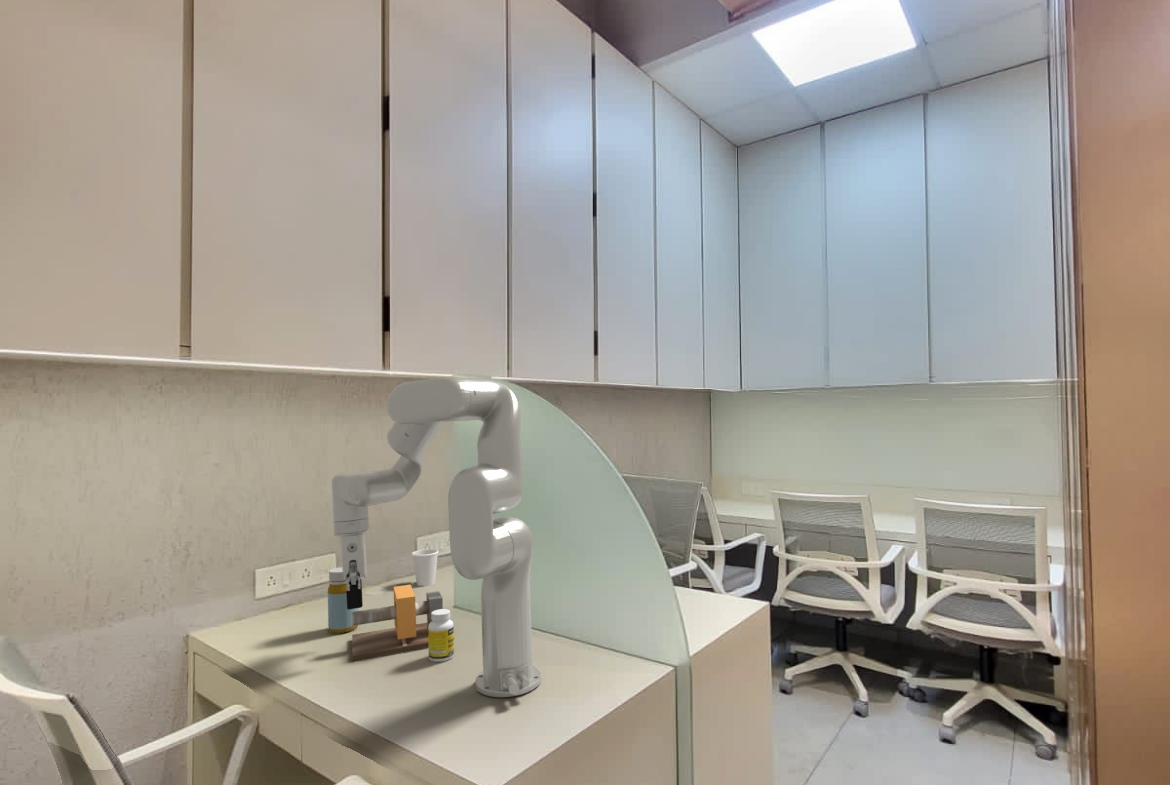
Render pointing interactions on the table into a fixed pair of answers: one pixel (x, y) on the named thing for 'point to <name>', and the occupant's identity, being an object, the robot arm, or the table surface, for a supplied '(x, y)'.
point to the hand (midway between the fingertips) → (354, 602)
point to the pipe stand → (391, 630)
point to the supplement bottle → (441, 636)
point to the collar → (405, 611)
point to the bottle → (338, 603)
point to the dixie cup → (425, 566)
